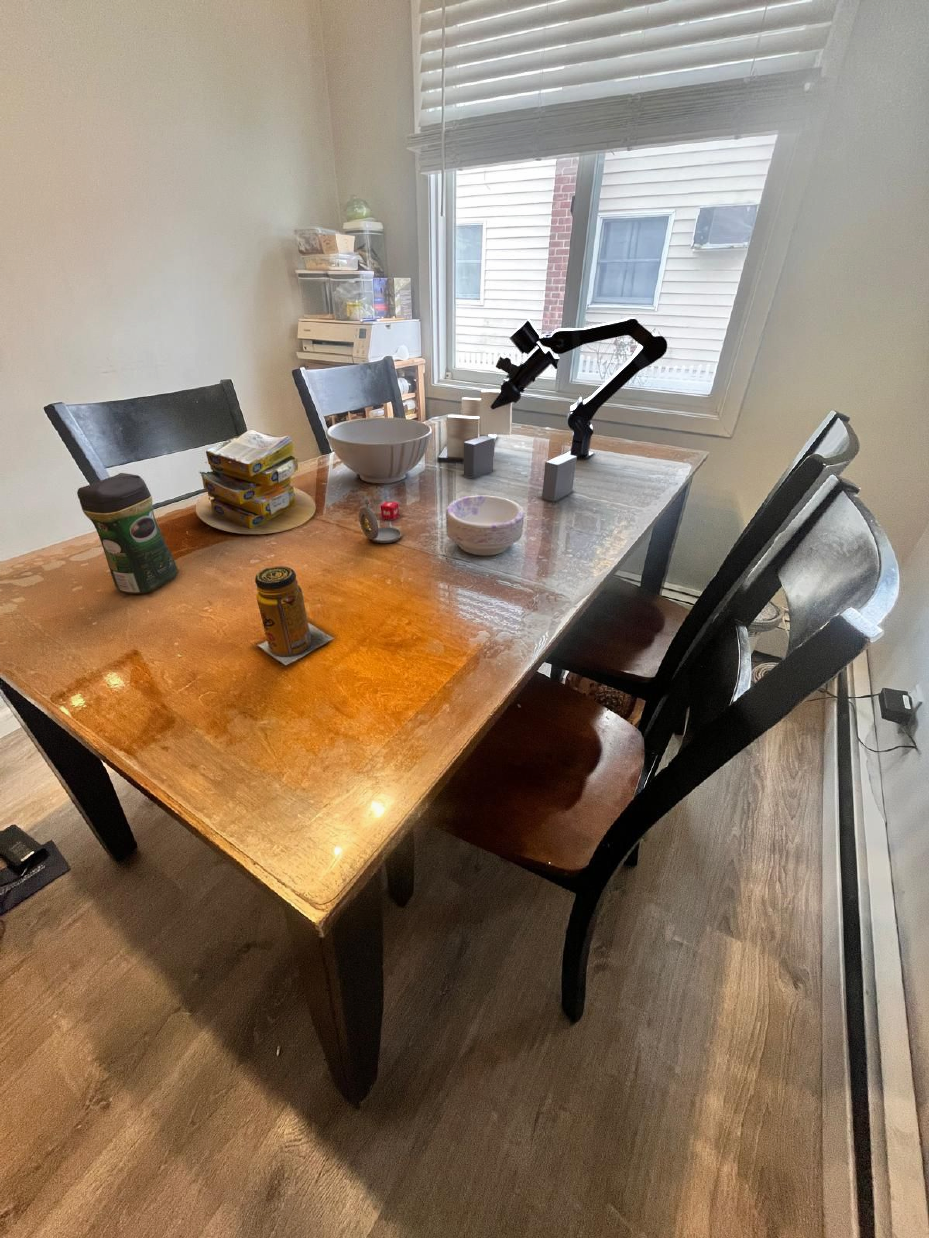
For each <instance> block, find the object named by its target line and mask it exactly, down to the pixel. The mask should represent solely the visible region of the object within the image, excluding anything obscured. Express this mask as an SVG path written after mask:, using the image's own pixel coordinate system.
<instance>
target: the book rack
mask: <svg viewBox="0 0 929 1238" xmlns="http://www.w3.org/2000/svg"><path fill="white" fill-rule="evenodd" d="M460 413H461V415H457V414H456V415H455V414H454V415H453V414H448V415H447V416H446V444H445V446H444V448H443V449H442V450H441V452H440V453H439V455H438V456H437V462H439V463H440V462H441V463H442V462H444V463H458V464H463V457H464V442H466V441H469V440H472V439H475V438H478V437H481V436H489V437H493V438H495V441H496V440H497V438H498V435H494V434H480V397H462V398H461V411H460Z"/></svg>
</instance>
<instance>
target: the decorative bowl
mask: <svg viewBox="0 0 929 1238" xmlns="http://www.w3.org/2000/svg"><path fill="white" fill-rule="evenodd" d="M325 434H326V438H327V440H328V443H329V445H330V447H331V449H332V450H333V452H334V454H335V455H336V457H337V459H339V461H340V462H341V463H342V464H343V465H344V466H345V467H346V468H348V469H349V470H351V472H353V473H355V474H356V475H359V479H361V480H362V481H364V482H367V483H371V484H390V483H396V482H399V481H401V480H403V479H405V478H406V476H407V473H408V472H410V471H412V470H413V469H414V468H415V467H416V466H417V465H418V464H419V463H420V461H421V460H422V458H423V457H424V456H425V454H426V452H427V449H428V447H429V444H430V441H431V438H432V434H433V429H432V428H431V426H430V425H429V424H427V423H425V422H423V421H419V420H415V419H409V418H403V417H389V416H387V417H386V416H385V417H380V416H379V417H363V418H356V419H355V418H354V419H350V420H345V421H341V422H338V423H335V424H332V425H331V426H330V427H328V428H327V429H326V432H325Z"/></svg>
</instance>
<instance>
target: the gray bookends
mask: <svg viewBox="0 0 929 1238" xmlns="http://www.w3.org/2000/svg"><path fill="white" fill-rule="evenodd" d="M495 442H496V440H495V438H493V437H489V436H481V437H478V438H475V439H472V440H469V441H466V442H464V457H463V463H462V464H463V468H462V472H463V473H462V476H463V477H465V478H469V479H476V478H479V477H482V476H484V475H486V474H488V473H491V472H494V466H495V465H494V461H495V444H496V443H495ZM577 459H578V458H577V456H573V455H569V454H566V453H562V454H559V455H558V456H555V457H553V458H551V459H548V460H546V461H545V462H544V473H543V480H542V490H541V491H542V492H541V499H542V500H547V501H550V502H556V501H558V500H560V499H561V498H564V497H565V496H567V495H569V494H571V493H573V488H574V481H575V474H576V467H577Z"/></svg>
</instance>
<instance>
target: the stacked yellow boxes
mask: <svg viewBox="0 0 929 1238" xmlns="http://www.w3.org/2000/svg"><path fill="white" fill-rule="evenodd" d="M205 450H206V451H205V455H206V459H207V461H205V462H204V463H205V464H207V463H208V465H209V467H210V471H207V472H206V471H199V472H198V474H199V475H200V476H201V481H202V486H203V490H206V493H204V494H203V495H202V496H201V497H199V498H198V500H197V502H196V504H195V513H196V515H197V517H198V518H199V519H200V520H201V521H202V522H203V523H205V524H207V525H209V526H210V527H212V528H215V529H218V530H221V531H225V532H229V533H236V534H242V535H267V534H273V533H275V534H276V533H280V532H284V531H285V532H286V531H288V530H292V529H295V528H297V527H300V526H302V525H303V524H305V523H306V522H307V521H309V520H310V519H311V518H313V516H314V514H315V512H316V509H317V505H316V502H315V500H314V499H313V498H312V497H311V496H310V494H308V493H307V492H305V491H303V490H301V489H298V488H297V487H294V486H292V485H291V483H292V476H293V475H294V474H295V472H297V471H298V470H299V463H298V458H297V456H293V455H294V453H295V451H294V441H293V440H292V439H291V437H290V436H289V435H284V436H277V435H273V434H269V433H263V432H262V431H256V430H253V429H248V430H246V432H244V433H242V434H240V435H236V436H234V437H232V438H229V439H228V438H227V439H226V440H225V441H224V442H223V443H219V444H217V445H215V446H213V447H210V448H206V449H205Z"/></svg>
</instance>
